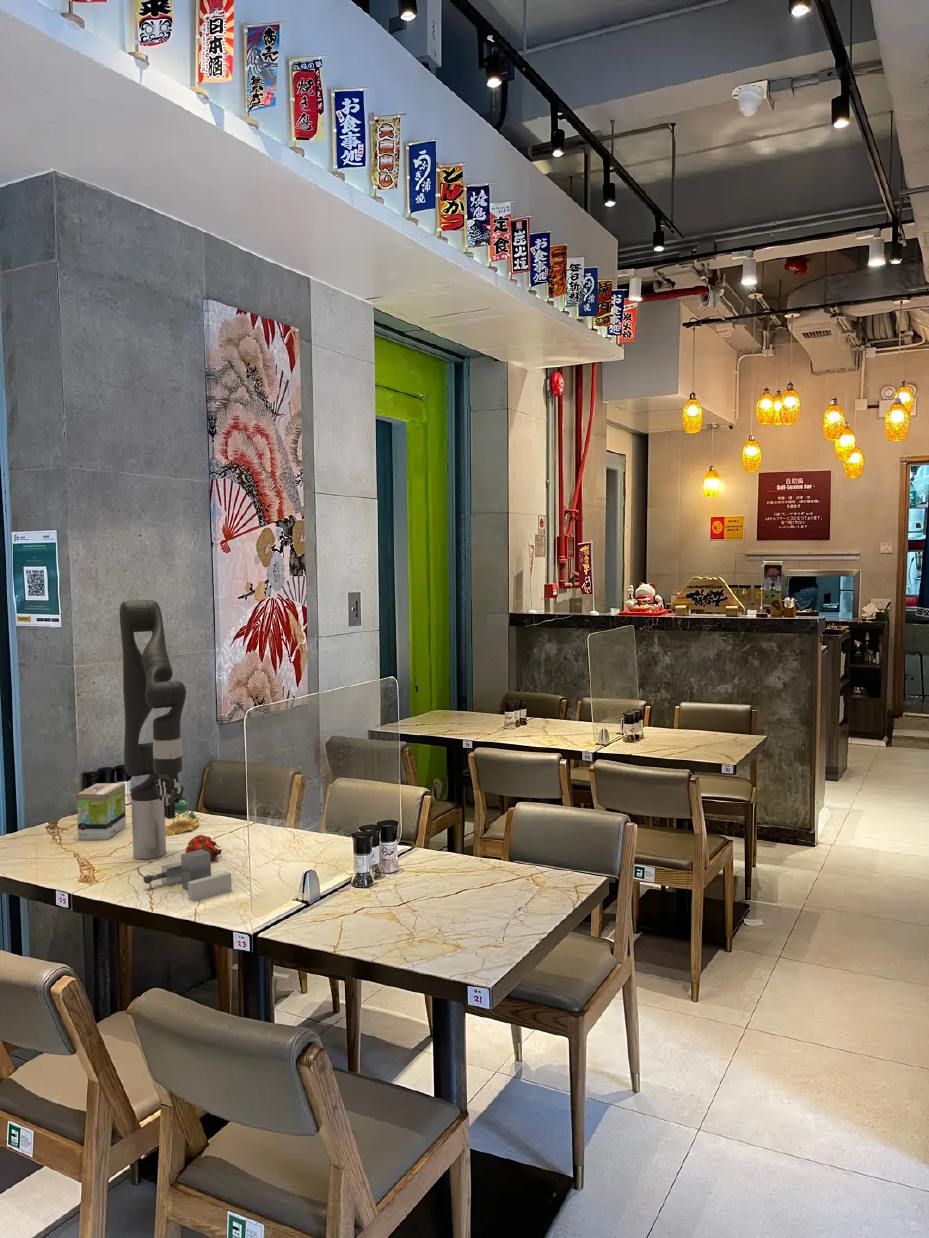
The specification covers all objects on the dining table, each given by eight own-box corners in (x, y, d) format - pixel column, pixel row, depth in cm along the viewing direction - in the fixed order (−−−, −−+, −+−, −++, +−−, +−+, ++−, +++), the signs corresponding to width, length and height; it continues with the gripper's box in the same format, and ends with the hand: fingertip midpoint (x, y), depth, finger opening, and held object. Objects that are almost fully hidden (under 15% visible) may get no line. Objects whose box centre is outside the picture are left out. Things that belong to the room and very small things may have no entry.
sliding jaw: (141, 888, 246) (140, 871, 246) (196, 873, 256) (196, 857, 256) (146, 890, 244) (145, 873, 243) (201, 876, 254) (201, 860, 254)
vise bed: (153, 884, 252) (152, 863, 252) (191, 874, 260) (190, 854, 259) (192, 905, 236) (191, 883, 236) (231, 894, 244) (230, 873, 243)
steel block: (182, 887, 246) (180, 854, 245) (203, 882, 250) (202, 849, 249) (190, 892, 243) (189, 858, 242) (211, 886, 247) (210, 852, 246)
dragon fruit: (192, 862, 275) (216, 876, 268) (172, 852, 269) (196, 866, 262) (208, 836, 278) (232, 849, 270) (189, 825, 272) (213, 839, 264)
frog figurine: (214, 823, 310) (210, 780, 308) (175, 844, 294) (170, 799, 292) (192, 819, 315) (187, 777, 312) (152, 840, 299) (147, 795, 296)
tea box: (109, 840, 293) (107, 793, 292) (77, 840, 293) (75, 793, 292) (127, 826, 308) (125, 781, 307) (96, 826, 308) (94, 782, 307)
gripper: (143, 753, 256) (145, 815, 258) (165, 760, 247) (168, 825, 248) (169, 749, 262) (171, 810, 263) (192, 756, 252) (194, 819, 253)
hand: (169, 817), depth 255 cm, fingers closed
